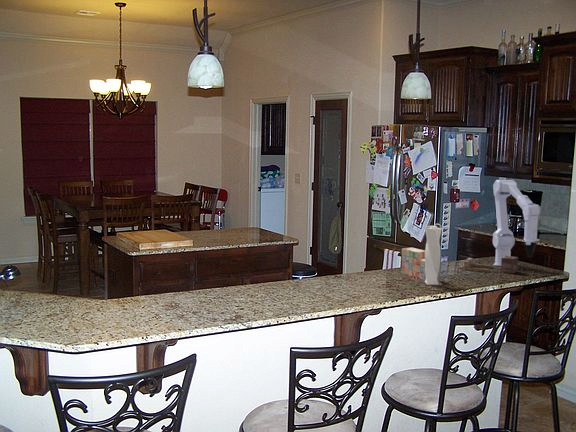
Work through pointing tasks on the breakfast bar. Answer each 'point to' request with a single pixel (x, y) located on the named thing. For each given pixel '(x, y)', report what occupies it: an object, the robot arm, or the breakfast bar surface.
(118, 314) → the breakfast bar surface
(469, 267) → the cradle
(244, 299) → the breakfast bar surface
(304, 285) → the breakfast bar surface
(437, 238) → the skyscraper
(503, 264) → the box
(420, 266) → the stack of blocks
